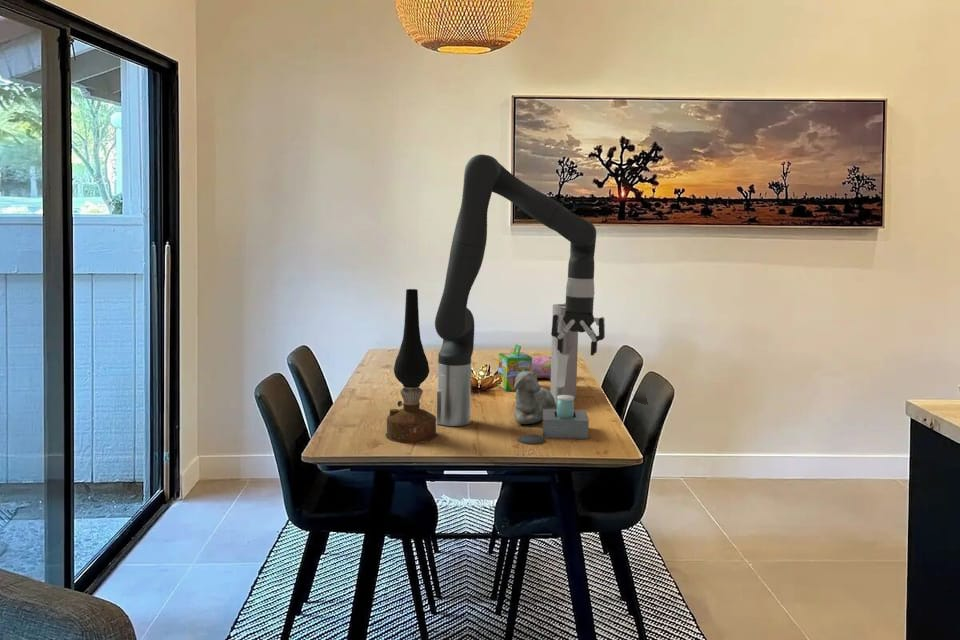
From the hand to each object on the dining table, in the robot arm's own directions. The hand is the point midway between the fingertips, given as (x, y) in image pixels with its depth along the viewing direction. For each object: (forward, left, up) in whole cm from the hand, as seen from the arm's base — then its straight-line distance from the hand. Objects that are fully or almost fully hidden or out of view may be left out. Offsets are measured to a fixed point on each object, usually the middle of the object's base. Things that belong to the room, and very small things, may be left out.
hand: (576, 353), depth 231 cm
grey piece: (-2, +41, -22) cm, 46 cm away
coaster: (-12, -12, -21) cm, 27 cm away
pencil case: (-11, +69, -22) cm, 73 cm away
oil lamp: (-44, -11, -22) cm, 50 cm away
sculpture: (-11, +12, -22) cm, 27 cm away
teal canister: (-3, -3, -22) cm, 22 cm away
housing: (-3, -3, -21) cm, 22 cm away
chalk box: (-18, +52, -22) cm, 59 cm away
